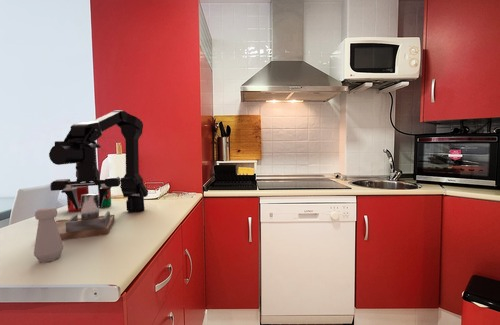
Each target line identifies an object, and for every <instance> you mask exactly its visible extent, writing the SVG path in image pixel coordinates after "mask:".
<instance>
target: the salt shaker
mask: <svg viewBox="0 0 500 325" xmlns="http://www.w3.org/2000/svg"><path fill="white" fill-rule="evenodd" d="M57 216H58V208H55V207H43V208H40V209H37V210H36V211H35V212H34V217H35V219H36V220H38V222H37V229H36V237H35V244H34V249H33V254H34V255H33V256H34V257H35V259H36V260H37V261H38V262H39V261H40V262H39V263H42V262H46V263H50V262H49V261H51V262H54V261H56V260H58V259H60V258H59V257H61V255H62V252H63V251H64V243H63V240H61V237H60V234H59V231H58V228H57V225H56V219H55V218H56V217H57ZM57 258H58V259H57ZM55 259H56V260H55ZM53 260H54V261H53Z"/></svg>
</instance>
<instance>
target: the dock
mask: <svg viewBox="0 0 500 325" xmlns="http://www.w3.org/2000/svg"><path fill="white" fill-rule="evenodd" d="M115 218H116V217H115V213H113V214H111V211H109V210H108V211H106V213H105V214H103V215H99V219H91V220H81V217H78V214H77V213H75V214H73V215H72V216H71V217H69V218H63V219H62V218H61V219H55V222H56V225H57V228H58V231H59V234H60V237H61V240H62V241H63V240H71V239H74V240H75V239H79V238H88V237H96V236H97V237H98V236H104V235H109V233H110V231H111V229H112V227H113V225H114V222H115Z"/></svg>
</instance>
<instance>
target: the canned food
mask: <svg viewBox="0 0 500 325" xmlns="http://www.w3.org/2000/svg"><path fill="white" fill-rule="evenodd" d="M74 188H77V197H78V203H79V210H76V208H75V206H74V205H73V203H72V201H71V200H70V198H69V197H68V196H67V195H66V202H67V210H68V211H69V212H70V213H76V212H81V195H84V194H90V193H89V186H78V187H74Z"/></svg>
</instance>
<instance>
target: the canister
mask: <svg viewBox="0 0 500 325" xmlns="http://www.w3.org/2000/svg"><path fill="white" fill-rule="evenodd" d="M80 212H81V213H80V218H81V220H91V219H99V216H100V208H99V194H98V193H89V194H84V195H81V211H80Z"/></svg>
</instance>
